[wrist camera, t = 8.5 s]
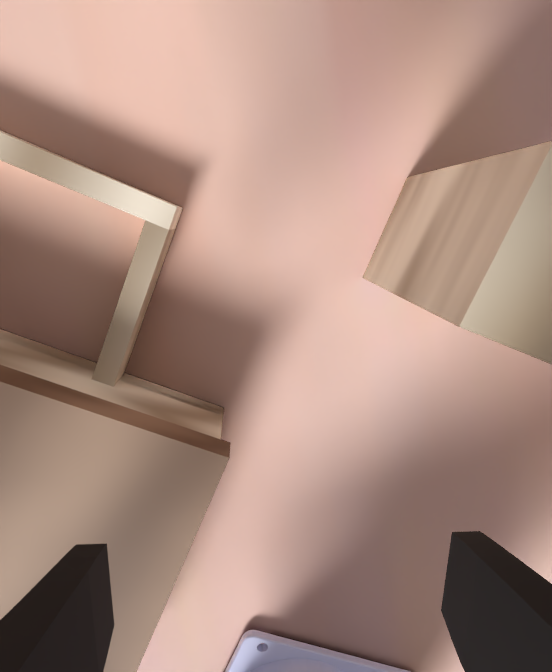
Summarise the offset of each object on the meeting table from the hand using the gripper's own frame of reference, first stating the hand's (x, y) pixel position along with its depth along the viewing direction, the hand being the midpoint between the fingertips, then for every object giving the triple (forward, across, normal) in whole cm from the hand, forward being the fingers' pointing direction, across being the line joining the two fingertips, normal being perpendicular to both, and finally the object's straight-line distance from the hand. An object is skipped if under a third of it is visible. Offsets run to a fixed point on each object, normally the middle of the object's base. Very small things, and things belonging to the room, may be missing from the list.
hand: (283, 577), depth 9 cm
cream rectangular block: (+9, -6, -6) cm, 13 cm away
